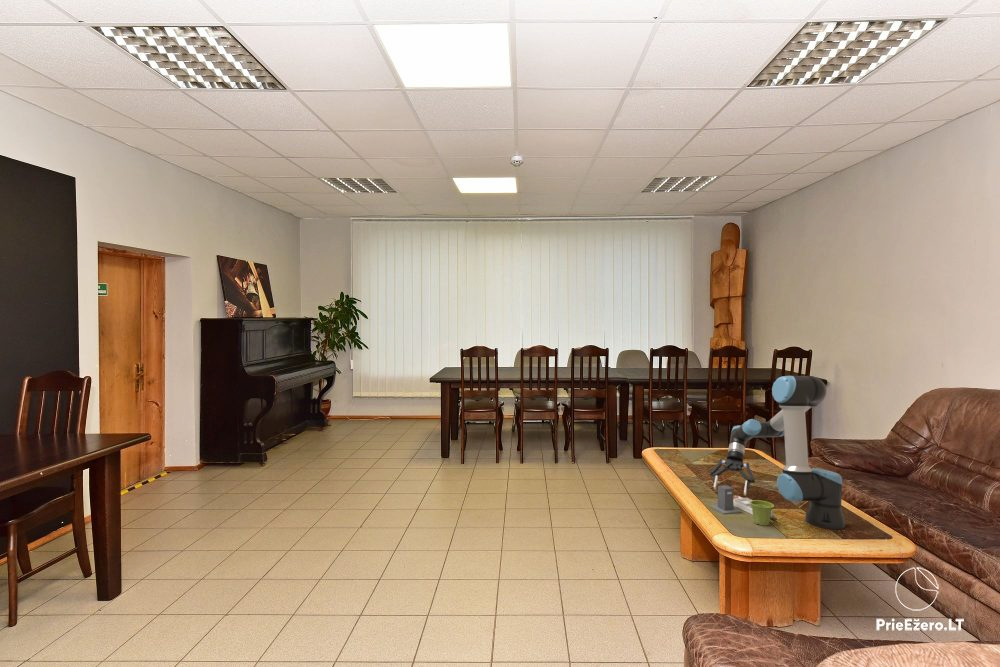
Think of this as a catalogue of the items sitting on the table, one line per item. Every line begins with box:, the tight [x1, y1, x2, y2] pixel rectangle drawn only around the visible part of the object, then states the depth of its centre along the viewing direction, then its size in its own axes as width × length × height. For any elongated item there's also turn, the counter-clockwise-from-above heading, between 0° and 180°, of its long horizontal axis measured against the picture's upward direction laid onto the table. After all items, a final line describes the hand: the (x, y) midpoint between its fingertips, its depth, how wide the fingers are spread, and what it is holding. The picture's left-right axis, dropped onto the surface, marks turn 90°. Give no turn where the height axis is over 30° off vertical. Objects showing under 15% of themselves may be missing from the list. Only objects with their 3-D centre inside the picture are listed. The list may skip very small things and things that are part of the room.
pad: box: [708, 504, 743, 515], centre depth 253 cm, size 10×10×1 cm
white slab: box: [733, 494, 778, 521], centre depth 253 cm, size 28×8×3 cm, turn 17°
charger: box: [717, 485, 735, 511], centre depth 253 cm, size 5×5×10 cm
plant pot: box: [750, 499, 775, 526], centre depth 237 cm, size 9×9×9 cm
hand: (729, 491), depth 261 cm, fingers open, 13 cm apart
